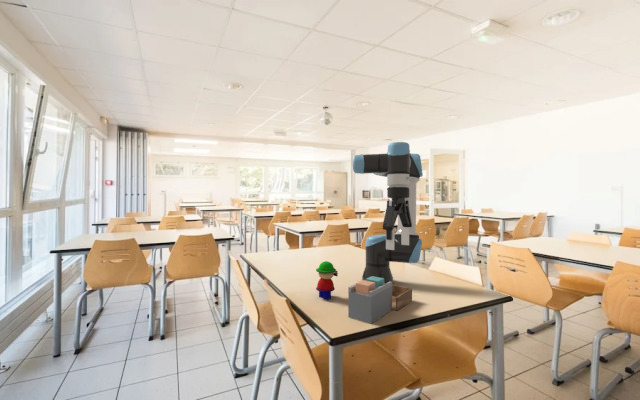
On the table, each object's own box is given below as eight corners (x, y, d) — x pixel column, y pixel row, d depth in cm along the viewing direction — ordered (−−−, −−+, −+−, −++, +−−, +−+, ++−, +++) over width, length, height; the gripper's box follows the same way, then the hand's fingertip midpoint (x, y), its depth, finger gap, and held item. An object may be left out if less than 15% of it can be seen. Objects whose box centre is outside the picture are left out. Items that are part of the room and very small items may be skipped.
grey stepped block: (348, 317, 106) (348, 287, 106) (370, 304, 119) (370, 277, 119) (371, 323, 101) (371, 292, 101) (392, 309, 113) (392, 281, 113)
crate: (366, 303, 120) (366, 290, 120) (382, 294, 131) (382, 282, 131) (397, 311, 112) (397, 297, 112) (412, 300, 123) (412, 288, 123)
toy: (312, 295, 130) (312, 260, 130) (329, 292, 134) (329, 258, 133) (321, 301, 122) (321, 264, 122) (339, 298, 125) (340, 262, 125)
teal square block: (365, 286, 112) (365, 278, 112) (372, 283, 115) (372, 276, 115) (377, 289, 108) (377, 281, 108) (384, 286, 112) (384, 278, 112)
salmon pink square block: (355, 291, 106) (355, 283, 106) (362, 288, 110) (362, 280, 110) (368, 294, 103) (368, 285, 103) (375, 290, 107) (375, 282, 107)
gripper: (394, 184, 94) (393, 253, 94) (420, 187, 114) (420, 244, 114) (372, 185, 99) (372, 250, 99) (401, 188, 119) (401, 242, 119)
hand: (398, 247), depth 106 cm, fingers open, 13 cm apart
